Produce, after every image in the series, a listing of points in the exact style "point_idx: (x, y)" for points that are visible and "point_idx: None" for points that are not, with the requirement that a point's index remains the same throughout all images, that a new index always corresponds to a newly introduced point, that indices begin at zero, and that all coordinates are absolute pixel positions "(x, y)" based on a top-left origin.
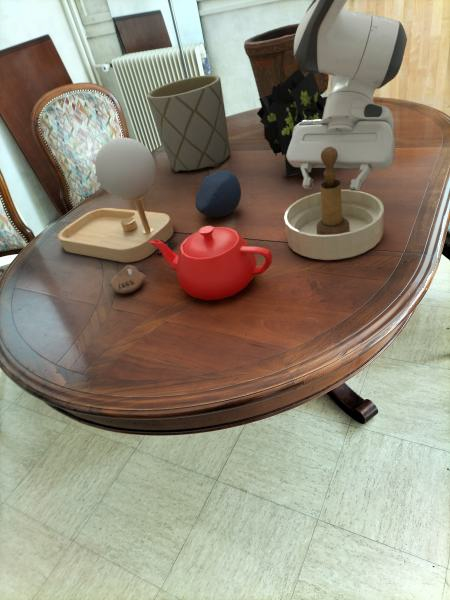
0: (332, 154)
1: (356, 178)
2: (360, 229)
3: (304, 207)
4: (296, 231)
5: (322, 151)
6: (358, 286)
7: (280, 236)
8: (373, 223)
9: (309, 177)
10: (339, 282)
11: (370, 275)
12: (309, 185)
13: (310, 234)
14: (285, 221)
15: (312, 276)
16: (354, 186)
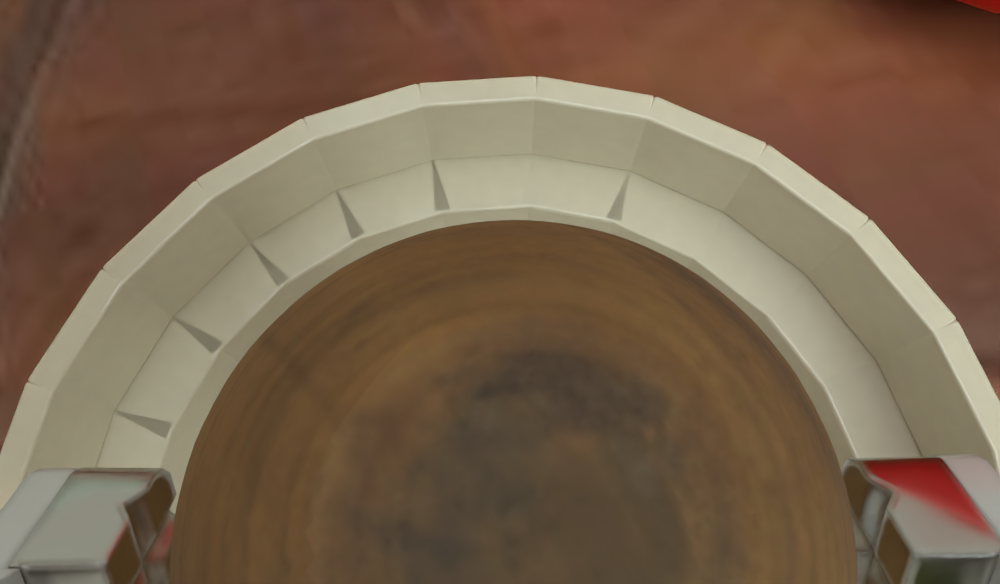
0: (282, 314)
1: (6, 573)
2: (129, 252)
3: None
4: (688, 111)
5: (769, 367)
6: (170, 41)
7: None
8: (30, 378)
9: (946, 554)
10: (286, 45)
11: (123, 152)
12: (850, 459)
13: (538, 87)
14: (892, 247)
15: (464, 54)
16: (78, 469)
